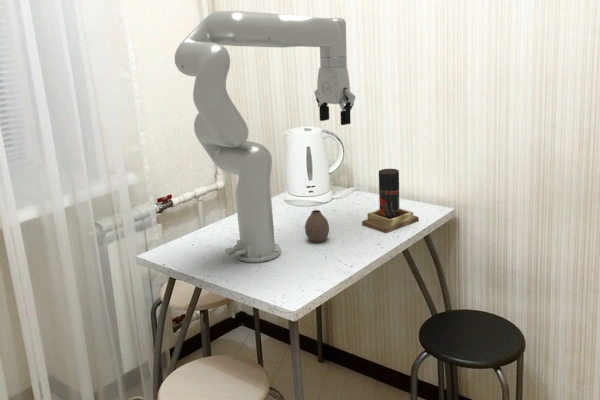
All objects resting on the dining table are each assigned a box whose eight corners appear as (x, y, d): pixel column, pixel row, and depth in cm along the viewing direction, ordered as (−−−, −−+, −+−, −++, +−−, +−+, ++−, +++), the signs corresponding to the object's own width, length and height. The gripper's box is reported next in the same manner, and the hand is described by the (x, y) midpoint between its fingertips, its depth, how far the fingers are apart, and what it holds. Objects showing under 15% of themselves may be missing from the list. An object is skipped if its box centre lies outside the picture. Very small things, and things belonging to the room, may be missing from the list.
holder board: (385, 233, 192) (385, 222, 191) (362, 224, 199) (361, 214, 198) (418, 220, 200) (418, 210, 199) (394, 213, 207) (394, 203, 206)
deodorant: (400, 222, 196) (400, 173, 191) (380, 223, 196) (379, 174, 192) (398, 215, 202) (397, 168, 197) (378, 216, 202) (377, 169, 197)
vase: (327, 244, 186) (326, 215, 183) (303, 244, 188) (301, 215, 185) (331, 235, 193) (329, 207, 190) (308, 235, 194) (306, 207, 191)
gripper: (304, 62, 193) (306, 120, 198) (342, 65, 179) (344, 128, 184) (324, 60, 197) (326, 117, 202) (363, 63, 183) (364, 124, 188)
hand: (334, 122), depth 193 cm, fingers open, 9 cm apart
